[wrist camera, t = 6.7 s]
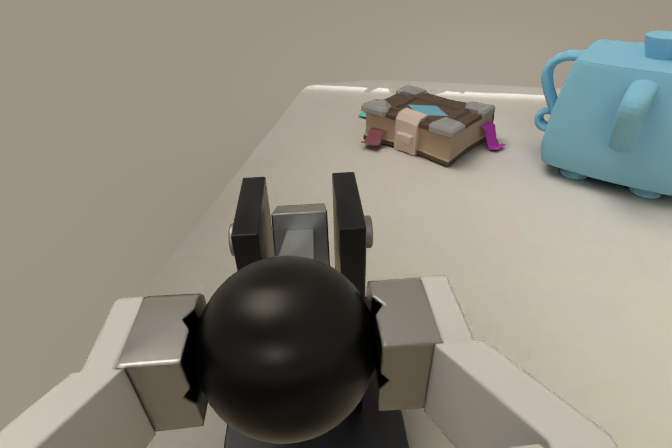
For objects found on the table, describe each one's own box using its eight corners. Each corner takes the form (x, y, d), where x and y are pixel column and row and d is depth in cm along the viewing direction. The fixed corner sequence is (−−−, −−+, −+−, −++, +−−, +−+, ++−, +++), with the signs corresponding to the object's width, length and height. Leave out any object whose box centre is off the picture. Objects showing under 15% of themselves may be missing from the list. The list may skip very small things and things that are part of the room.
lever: (394, 481, 7) (388, 276, 6) (181, 500, 6) (155, 292, 6) (338, 261, 20) (335, 193, 20) (270, 265, 20) (265, 197, 20)
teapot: (572, 216, 39) (628, 60, 31) (506, 140, 52) (534, 18, 44) (772, 209, 39) (877, 53, 31) (656, 135, 52) (709, 13, 45)
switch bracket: (414, 494, 20) (450, 297, 13) (220, 511, 20) (143, 318, 12) (376, 307, 30) (384, 135, 23) (246, 316, 30) (211, 144, 22)
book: (318, 133, 55) (317, 94, 52) (377, 106, 62) (378, 71, 60) (460, 182, 44) (467, 136, 41) (510, 143, 51) (520, 102, 49)
